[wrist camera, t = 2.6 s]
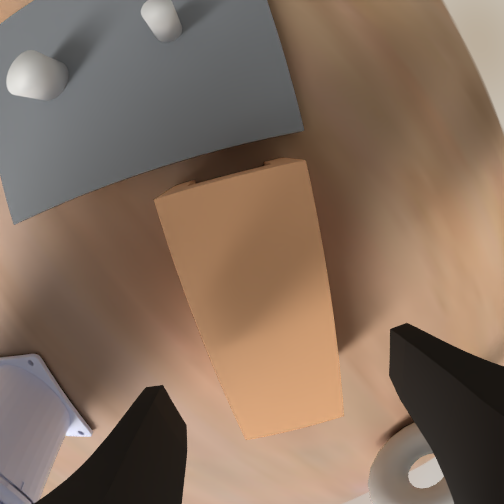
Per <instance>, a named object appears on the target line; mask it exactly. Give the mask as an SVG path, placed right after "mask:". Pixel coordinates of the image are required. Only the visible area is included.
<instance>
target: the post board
mask: <svg viewBox="0 0 504 504" xmlns="http://www.w3.org/2000/svg"><path fill="white" fill-rule="evenodd" d="M301 131H304V127H303V123H302V119H301V115H300V111H299V107H298V103H297V99H296V95H295V91H294V88H293V84H292V80H291V77H290V73H289V70H288V66H287V63H286V59H285V56H284V52H283V49H282V46H281V42H280V39H279V36H278V33H277V29H276V26H275V23H274V20H273V17H272V14H271V11H270V8H269V5H268V2H267V0H34V1H32V2H31V3H29V4H28V5H26V6H25V7H23V8H22V9H20V10H19V11H17V12H16V13H15V14H13V15H12V16H10V17H9V18H8V19H6V20H5V21H4V22H2V23H1V24H0V176H1V180H2V184H3V188H4V192H5V196H6V200H7V203H8V207H9V210H10V214H11V217H12V220H13V223H14V225H15V224H17V223H19V222H22V221H24V220H26V219H28V218H30V217H33V216H35V215H37V214H39V213H41V212H44V211H46V210H48V209H50V208H53V207H55V206H57V205H60V204H62V203H64V202H67V201H69V200H72V199H74V198H77V197H79V196H82V195H84V194H87V193H89V192H92V191H94V190H97V189H100V188H102V187H105V186H108V185H110V184H113V183H116V182H119V181H121V180H124V179H127V178H130V177H133V176H136V175H139V174H142V173H145V172H148V171H151V170H154V169H157V168H160V167H163V166H166V165H170V164H173V163H176V162H179V161H183V160H186V159H190V158H193V157H196V156H200V155H204V154H207V153H211V152H215V151H218V150H222V149H226V148H230V147H234V146H238V145H242V144H246V143H250V142H254V141H259V140H263V139H268V138H272V137H277V136H281V135H286V134H291V133H296V132H301Z"/></svg>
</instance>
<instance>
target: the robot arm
mask: <svg viewBox="0 0 504 504" xmlns="http://www.w3.org/2000/svg"><path fill="white" fill-rule="evenodd" d="M389 376H390V379H391V381H392V383H393V385H394V387H395V390H396V392H397V394H398V396H399V398H400V400H401V402H402V403H403V405H404V406H405V408H406V410H407V411H408V413H409V414H410V416H411V417H412V419H413V421H414V422H415V424H416V425H417V427H418V428H419V430H420V432H421V433H422V435H423V436H424V438H425V439H426V441H427V443H428V444H429V446H430V447H431V449H432V451H433V453H434V455H435V457H436V459H437V461H438V463H439V465H440V468H441V470H442V472H443V475H444V477H445V480H446V482H447V485H448V487H449V490H450V493H451V496H452V498H453V501H454V504H504V366H501V365H498V364H495V363H492V362H489V361H487V360H484V359H482V358H479V357H477V356H474V355H472V354H470V353H467V352H465V351H463V350H461V349H459V348H457V347H454V346H452V345H450V344H448V343H446V342H444V341H442V340H440V339H438V338H436V337H434V336H432V335H430V334H428V333H426V332H424V331H422V330H420V329H418V328H416V327H414V326H412V325H410V324H408V323H405V324H403V325H400V326H397V327H395V328H392V329H390V368H389ZM92 434H93V431H92V429H91V428H90V427H89V426H88V424H87V423H86V422H85V421H84V419H83V418H82V417H81V415H80V414H79V413H78V411H77V410H76V409H75V407H74V406H73V405H72V403H71V402H70V401H69V399H68V398H67V396H66V395H65V394H64V392H63V391H62V389H61V388H60V386H59V385H58V383H57V382H56V380H55V379H54V377H53V376H52V374H51V373H50V371H49V369H48V368H47V366H46V365H45V363H44V361H43V360H42V358H41V357H40V356H39V355H37V354H27V355H19V356H10V357H1V358H0V504H182V495H183V486H184V477H185V468H186V458H187V427H186V424H185V422H184V420H183V419H182V417H181V416H180V414H179V412H178V411H177V409H176V407H175V406H174V404H173V402H172V400H171V399H170V397H169V395H168V393H167V392H166V390H165V388H164V386H163V385H160V386H153V387H146V388H145V389H144V390H143V391H142V393H141V394H140V395H139V396H138V398H137V399H136V400H135V402H134V403H133V404H132V406H131V407H130V408H129V410H128V411H127V412H126V414H125V415H124V416H123V418H122V419H121V420H120V421H119V423H118V424H117V425H116V427H115V428H114V429H113V430H112V432H111V433H110V434H109V435H108V437H107V438H106V439H105V440H104V441H103V442H102V444H101V445H100V446H99V447H98V448H97V449H96V451H95V452H94V453H93V454H92V455H91V456H90V457H89V459H88V460H87V461H86V462H85V463H84V464H83V465H82V466H81V467H80V468H79V469H78V470H76V471H75V472H74V473H73V474H72V475H71V476H70V477H69V478H68V479H67V480H65V481H64V482H63V483H62V484H60V485H59V486H58V487H57V488H55V489H54V490H53V491H51V492H50V493H49V494H47V495H46V496H45V497H43V498H42V499H40V497H41V494H42V492H43V489H44V486H45V484H46V481H47V478H48V476H49V473H50V471H51V468H52V466H53V463H54V461H55V459H56V456H57V454H58V451H59V449H60V447H61V444H62V442H63V440H64V438H65V436H82V437H90V436H92Z"/></svg>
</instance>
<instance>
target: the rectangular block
mask: <svg viewBox="0 0 504 504" xmlns="http://www.w3.org/2000/svg"><path fill="white" fill-rule="evenodd" d="M264 165H265V166H262V167H258V168H254V169H250V170H246V171H242V172H238V173H234V174H230V175H226V176H222V177H219V178H215V179H211V180H208V181H204V182H200V183H197V184H196V182H195V180H192V181H188V182H185V183H181V184H178V185H175V186H174V187H172V188H171V189H169V190H168V191H166V192H164V193H163V194H161V195H160V196H158V197H157V198H155V199H154V203H155V206H156V210H157V213H158V216H159V219H160V222H161V226H162V229H163V232H164V235H165V238H166V241H167V244H168V247H169V250H170V253H171V256H172V259H173V262H174V265H175V268H176V271H177V274H178V277H179V279H180V282H181V285H182V288H183V291H184V293H185V296H186V299H187V302H188V304H189V307H190V310H191V312H192V315H193V318H194V320H195V323H196V325H197V328H198V331H199V333H200V336H201V338H202V341H203V343H204V346H205V348H206V351H207V353H208V356H209V358H210V360H211V363H212V365H213V368H214V370H215V372H216V375H217V377H218V379H219V382H220V384H221V386H222V389H223V391H224V393H225V396H226V398H227V400H228V402H229V405H230V407H231V409H232V411H233V413H234V416H235V418H236V420H237V422H238V424H239V426H240V429H241V431H242V433H243V435H244V437H245V439H246V440H250V439H255V438H260V437H265V436H270V435H275V434H279V433H284V432H288V431H292V430H296V429H300V428H304V427H308V426H312V425H315V424H319V423H323V422H326V421H329V420H333V419H336V418H339V417H342V416H344V408H343V396H342V385H341V375H340V365H339V356H338V347H337V339H336V331H335V323H334V315H333V308H332V301H331V294H330V287H329V281H328V274H327V268H326V262H325V256H324V250H323V244H322V239H321V233H320V228H319V222H318V217H317V212H316V206H315V201H314V196H313V192H312V187H311V182H310V177H309V172H308V168H307V163H306V160H301V159H293V158H284V157H282V158H278V159H274V160H269V161H265V162H264Z"/></svg>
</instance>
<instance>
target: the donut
mask: <svg viewBox="0 0 504 504" xmlns="http://www.w3.org/2000/svg"><path fill="white" fill-rule="evenodd" d="M432 453H433V451H432V449H431V447H430V446H429V444H428V443H427V441H426V439H425V438H424V436H423V435H422V433H421V432H420V430H419V428H418V427H417V425H416V424H415V423H412V424H410V425H408V426H406V427H404V428H403V429H402V430H400V431H399V432H398V433H396V434H395V435H394V436H392V437H391V438H390V439H389V440H388V441H387V443H386V444H385V445H384V446H383V447H382V449H381V450H380V451H379V452H378V454H377V456H376V458H375V460H374V462H373V464H372V466H371V469H370V474H369V480H368V488H369V494H370V499H371V502H372V503H373V504H454V501H453V498H452V496H451V493H450V490H449V487H448V485H447V482H446V480H445V477H443V479H442V480H441V481H440V482H438V483H437V484H436V485H434V486H431V487H429V488H423V489H420V488H416V487H414V486H412V484H411V483H410V482H409V479H408V472H409V470H410V468H411V466H412V465H413V464H414V462H415V461H416V460H418V459H419V458H420V457H422V456H424V455H427V454H432Z"/></svg>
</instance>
